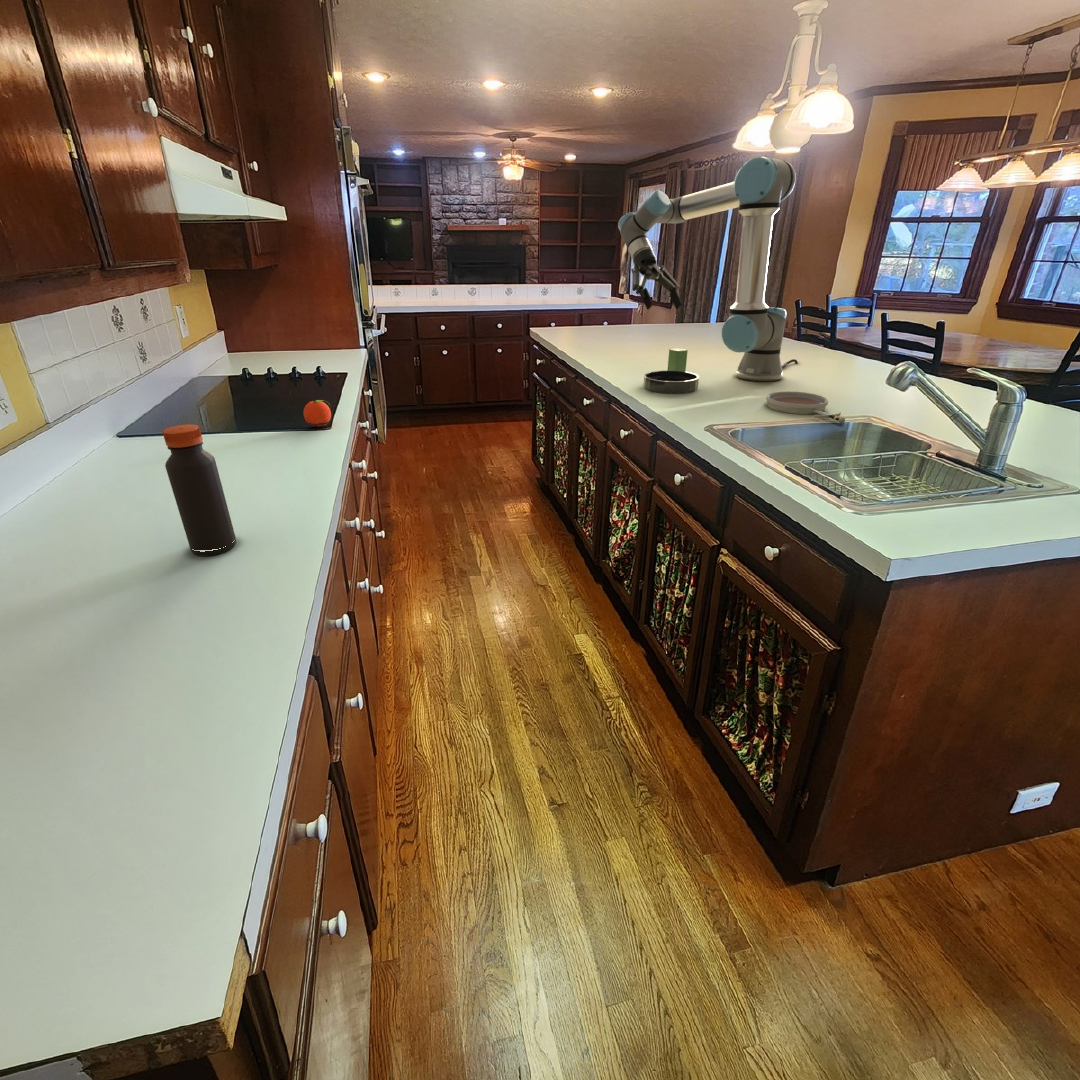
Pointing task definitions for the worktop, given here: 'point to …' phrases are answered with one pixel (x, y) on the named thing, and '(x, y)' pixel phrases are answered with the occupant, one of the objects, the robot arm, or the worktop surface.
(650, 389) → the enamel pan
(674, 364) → the green block
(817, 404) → the frying pan
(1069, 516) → the worktop surface
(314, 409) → the clementine
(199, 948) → the worktop surface
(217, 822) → the worktop surface
